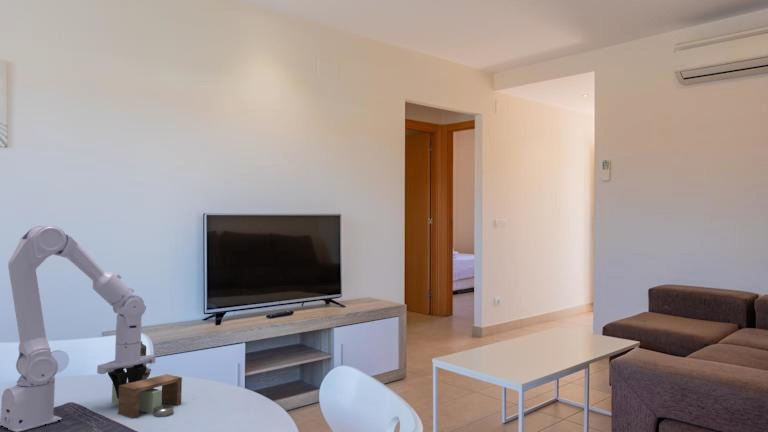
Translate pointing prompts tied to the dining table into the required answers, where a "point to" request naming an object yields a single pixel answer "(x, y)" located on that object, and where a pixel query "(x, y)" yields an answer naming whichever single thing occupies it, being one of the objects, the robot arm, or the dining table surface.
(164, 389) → the wooden bridge block
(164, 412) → the disc
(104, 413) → the dining table surface
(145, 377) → the salt shaker
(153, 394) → the bar
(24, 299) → the robot arm
